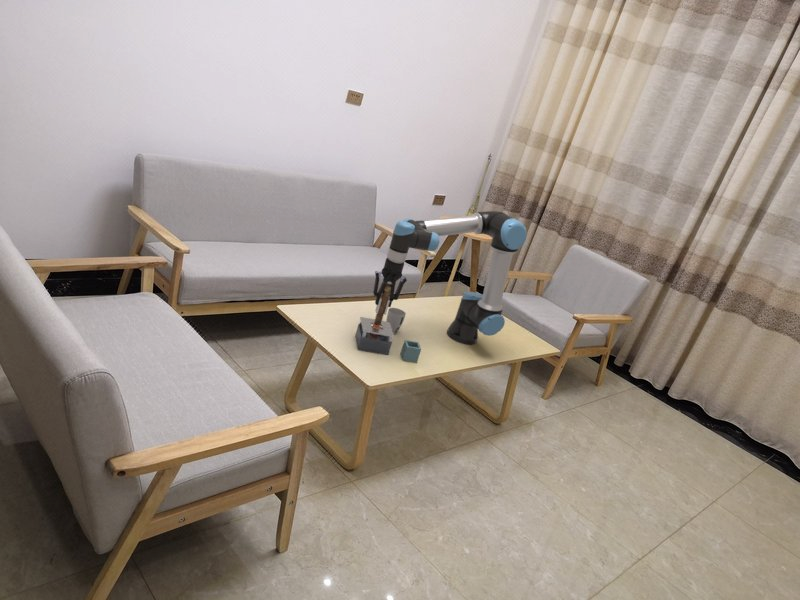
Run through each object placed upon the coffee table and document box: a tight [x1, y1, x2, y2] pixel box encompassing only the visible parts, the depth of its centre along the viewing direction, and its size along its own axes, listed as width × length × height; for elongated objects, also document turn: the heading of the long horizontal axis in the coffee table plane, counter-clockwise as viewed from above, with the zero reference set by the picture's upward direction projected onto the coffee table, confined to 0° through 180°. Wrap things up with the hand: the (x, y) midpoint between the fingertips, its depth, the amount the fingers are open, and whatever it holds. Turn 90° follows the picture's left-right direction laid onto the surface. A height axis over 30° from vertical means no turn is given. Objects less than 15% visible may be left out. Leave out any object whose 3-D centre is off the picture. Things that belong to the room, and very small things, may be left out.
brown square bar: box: [373, 282, 392, 327], centre depth 222 cm, size 3×3×18 cm
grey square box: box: [354, 316, 395, 356], centre depth 227 cm, size 13×13×9 cm
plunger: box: [370, 324, 382, 336], centre depth 226 cm, size 4×4×4 cm
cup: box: [385, 307, 407, 335], centre depth 246 cm, size 8×8×10 cm
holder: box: [400, 339, 422, 364], centre depth 226 cm, size 6×6×7 cm
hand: (380, 312), depth 223 cm, fingers closed on brown square bar, 3 cm apart
